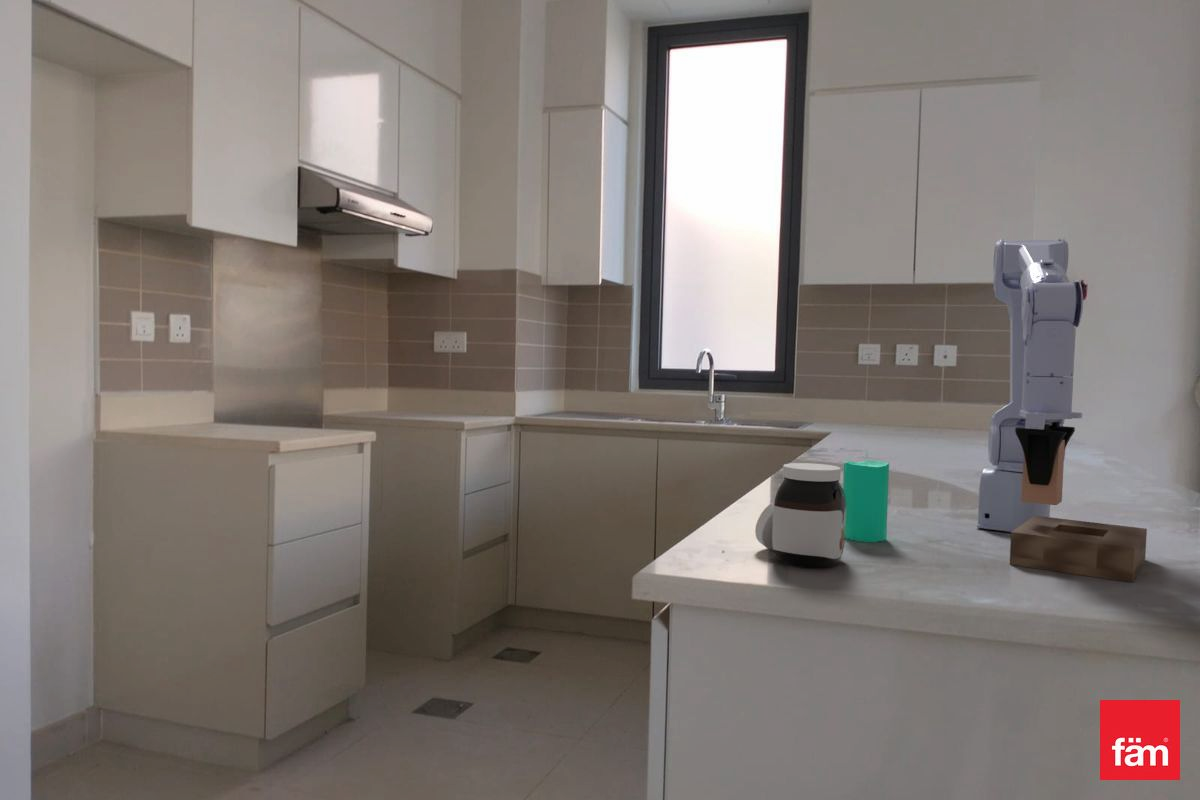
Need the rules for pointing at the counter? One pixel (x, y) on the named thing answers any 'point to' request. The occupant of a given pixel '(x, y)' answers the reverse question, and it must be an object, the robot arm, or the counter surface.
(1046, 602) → the counter surface
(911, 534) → the counter surface
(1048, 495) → the peg
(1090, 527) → the socket block
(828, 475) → the spread jar
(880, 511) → the candle
